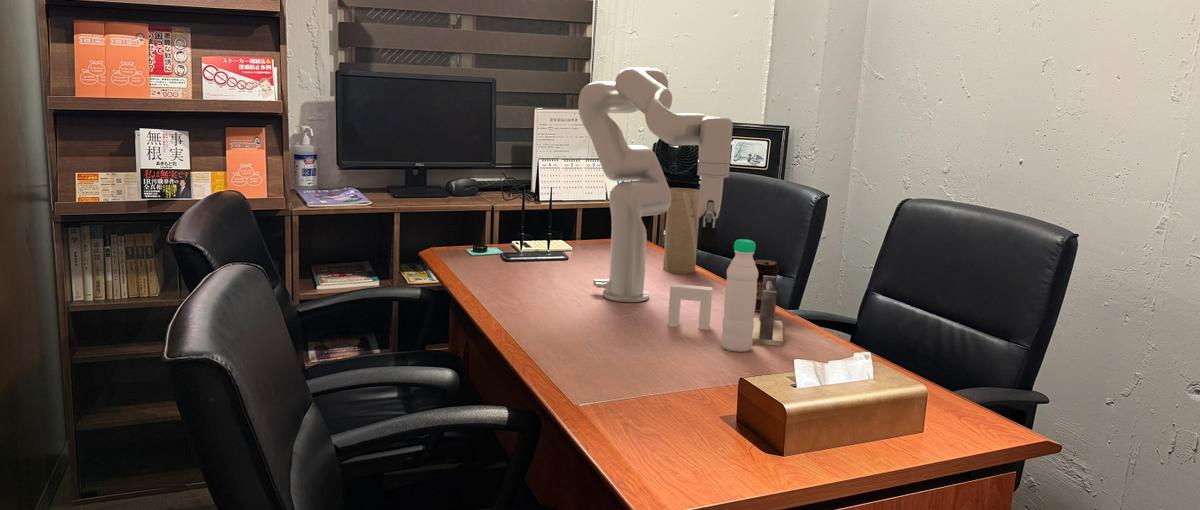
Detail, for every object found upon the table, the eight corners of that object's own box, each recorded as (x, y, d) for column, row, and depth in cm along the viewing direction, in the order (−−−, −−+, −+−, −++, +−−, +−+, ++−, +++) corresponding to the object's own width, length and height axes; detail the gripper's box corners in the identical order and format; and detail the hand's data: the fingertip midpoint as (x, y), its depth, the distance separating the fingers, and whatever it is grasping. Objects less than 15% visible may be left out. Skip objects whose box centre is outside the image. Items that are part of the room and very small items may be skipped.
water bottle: (717, 342, 203) (726, 237, 197) (747, 343, 203) (756, 237, 198) (724, 352, 196) (733, 243, 190) (755, 353, 196) (765, 244, 191)
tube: (700, 269, 275) (706, 190, 269) (686, 275, 267) (691, 194, 261) (672, 264, 280) (677, 187, 275) (657, 269, 272) (662, 190, 266)
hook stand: (747, 342, 204) (752, 290, 201) (749, 322, 220) (753, 274, 217) (782, 346, 202) (787, 294, 200) (781, 325, 219) (786, 277, 216)
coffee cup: (775, 315, 228) (779, 266, 225) (742, 312, 229) (747, 263, 226) (775, 306, 236) (779, 259, 233) (744, 303, 238) (748, 256, 235)
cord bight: (667, 326, 214) (670, 286, 212) (668, 322, 216) (671, 283, 214) (708, 330, 212) (711, 290, 210) (709, 326, 215) (712, 287, 213)
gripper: (698, 164, 217) (693, 232, 220) (696, 172, 200) (691, 246, 204) (729, 166, 216) (723, 234, 219) (729, 174, 199) (723, 248, 203)
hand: (708, 240), depth 211 cm, fingers open, 9 cm apart
